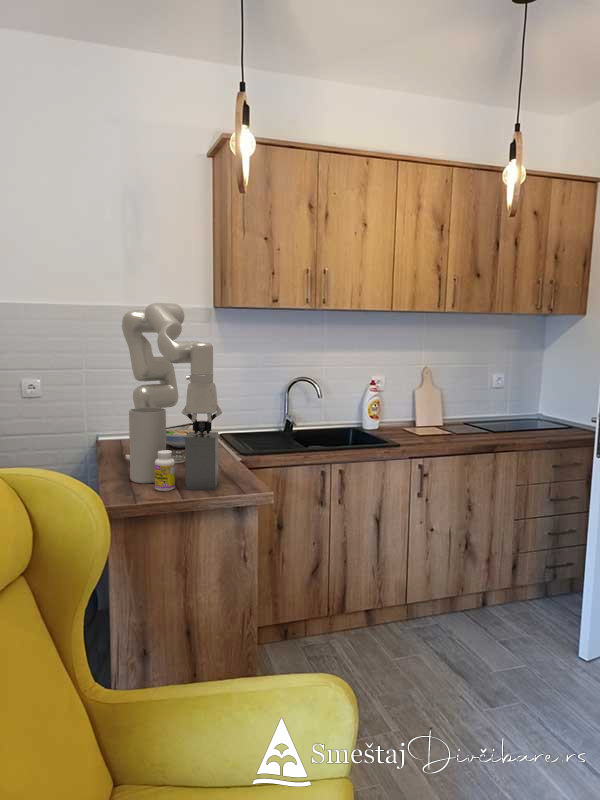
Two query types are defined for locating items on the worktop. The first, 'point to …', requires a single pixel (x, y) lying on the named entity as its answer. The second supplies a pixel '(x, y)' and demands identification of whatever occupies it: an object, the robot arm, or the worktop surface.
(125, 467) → the worktop surface
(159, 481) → the supplement bottle
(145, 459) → the cylinder vase
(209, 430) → the robot arm
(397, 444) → the worktop surface
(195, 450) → the tall grey rectangular prism
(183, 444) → the ramen bowl
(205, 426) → the plunger
